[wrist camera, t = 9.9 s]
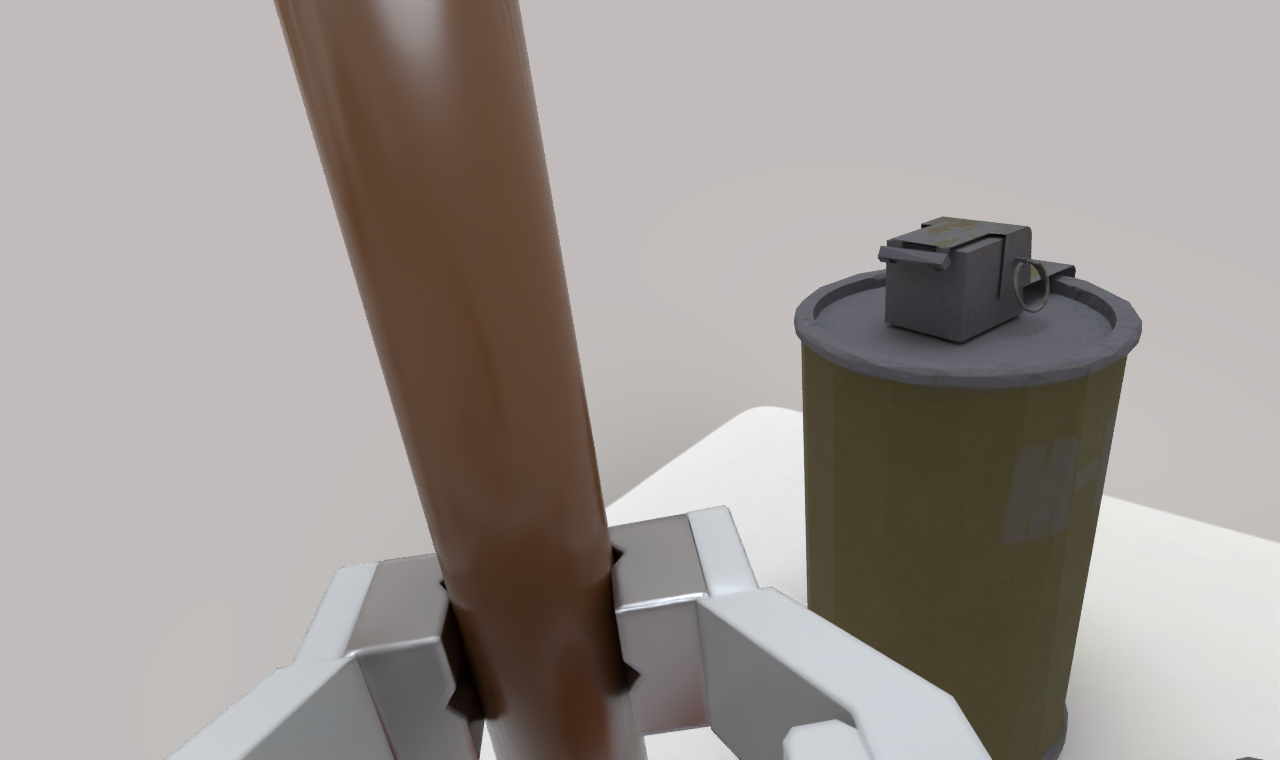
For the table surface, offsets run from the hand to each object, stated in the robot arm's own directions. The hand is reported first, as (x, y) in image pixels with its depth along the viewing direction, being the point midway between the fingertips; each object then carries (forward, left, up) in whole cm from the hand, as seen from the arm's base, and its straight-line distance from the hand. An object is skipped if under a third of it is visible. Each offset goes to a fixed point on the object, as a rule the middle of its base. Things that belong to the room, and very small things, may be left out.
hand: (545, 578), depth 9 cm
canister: (+18, +8, -20) cm, 28 cm away
